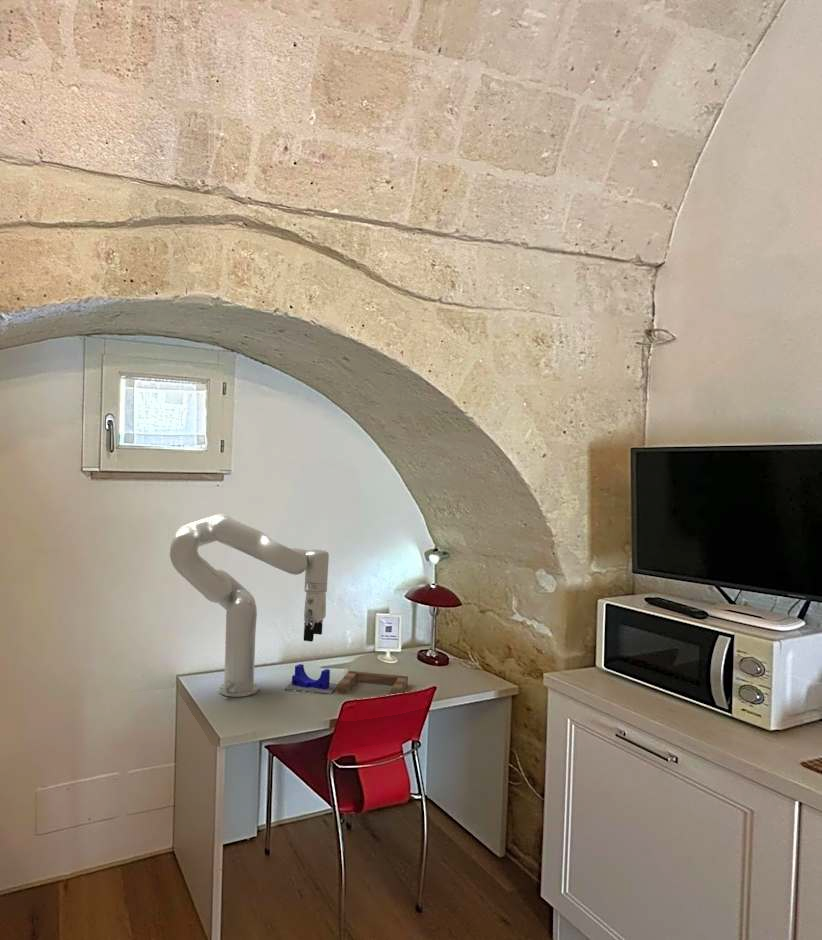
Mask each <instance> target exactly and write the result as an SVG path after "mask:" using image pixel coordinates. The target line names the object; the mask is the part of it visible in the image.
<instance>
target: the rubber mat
mask: <svg viewBox="0 0 822 940" xmlns="http://www.w3.org/2000/svg"><path fill="white" fill-rule="evenodd" d="M337 684H338V683H335V682H330V683H329V688H327V689H325V690H323V689H318V688H313V687H308V688H305V687H300V686H295V685H292V681H290V683H289V684H288V685H287V686H286V687H284V691H287V690H296V691H295V692H297V691H305V692H304V693H306V692H314V693H313V694H316V693H324V694H323V695H326V694H331V695H333V694H334V692H335V691H336V690H337V689H336V688H337ZM335 689H336V690H335ZM334 690H335V691H334Z"/></svg>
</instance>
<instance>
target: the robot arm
mask: <svg viewBox="0 0 822 940" xmlns="http://www.w3.org/2000/svg"><path fill="white" fill-rule="evenodd" d="M214 542H218V543H221V544H223V545H225V546H228V547H230V548H233V549H235V550H237V551H239V552H241V553H244V554H246V555H248V556H251V557H252V558H254V559H256V560H259V561H261V562H262V563H263V562H264V563H266V564H267V565H269V566H272V567H274V568H275V569H278V570H281V571H283V572H285V573H288V574H290V575H294V576H296V575H301V574H303V573H304V572H305V574H304V589H303V591H304V592H305V593H306V594H305V600H304V601H305V602H304V611H303V615H304V616H303V621H304V623H303V625H304V626H303V641H305V642H311V643H312V642H313V641H314V635H319V636H321V635H323V625H324V624H323V621H324V619H325V618H326V616H327V615H326V613H327V612H326V611H327V610H326V607H327V606H326V605H327V596H326V595H327V592H328V578H329V575H328V574H329V561H330V560H329V558H330V555H329V552H328V551H327V550H322V549H303V548H297V547H293V548H290V547H288V546H285V545H283V544H282V543H279V542H277V541H276V540H274V539H272V538H271V537H269V536H268V535H267V534H266V533H264V532H263V531H261V530H259V529H256V528H255V527H251V526H249V525H246V524H244V523H242V522H240V521H238V520H236V519H234V518H232V517H231V516H230V515H228V514H226V513H218V514H215V515H212V516H209V517H206V518H202V519H199V520H196V521H193V522H190V523H187V524H184V525H182V526H181V527H179V528H177V530H176V532H175V533H174V534H173V537H172V540H171V543H170V549H169V557H170V561H171V565H172V566H173V568H174V569H175V570H176V572H177V573H178V574H179V575H180V576H181V577H182V578H184V579H185V580H186V581H187V582H188V584H190V585H191V586H192V587H193V588H194V589H196V590H197V592H199V593H200V594H201V595H202V596H203V597H204V598H205V599H207V600H208V601H210V602H211V603H216V604H218V605H219V606H221V607H222V608H223V609H224V610H225V612H226V614H225V617H226V618H225V622H226V624H225V647H224V648H225V649H224V650H225V652H224V654H225V655H224V674H223V675H224V677H223V678H224V680H223V684H221V685H220V686H219V688H218V692H219V694H221V695H223V696H227V697H235V698H239V697H249V696H252V695H254V694H256V693H257V692H258V691H259V685H258V684H257V683H255V657H256V656H255V655H256V632H257V631H256V629H257V617H258V609H257V603H256V600H255V598H254V595H253V594H252V593H251V592H249V590H247V588H246V587H244V586H243V585H242V584H241V583H239V582H238V581H237V580H236V579H235V578H234V577H233V576H232V575H230V574H229V573H228V572H226V571H224V570H222V569H215V568H214V566H212V565H211V564H210V563H209V562H208V561H207V560H206V559H204V558H203V557H202V556H201V555H200V554H199V551H198V549H199V547H202V546H205V545H208V544H211V543H214Z"/></svg>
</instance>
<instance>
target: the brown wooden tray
mask: <svg viewBox="0 0 822 940" xmlns="http://www.w3.org/2000/svg"><path fill="white" fill-rule="evenodd" d="M354 683H362V684H363V683H364V684H375V685H383V686H385V685H386V686H392V687H391V689H390V691H389V692H390V693H389V694H397V693H402V692H403V693H404V692H405V690H406V689H407V687H408V683H409V677H408V675H395V674H387V673H376V672H366V671H355V670H348V672H347V673H346V674H345V675H344V677H343V678H341V680H340V681H338V683H336V684H337V689H336V693H340V694H339V695H347V694H348V692H349V691H350V690H351V689H352V688H353V686H354V685H355V684H354ZM349 689H350V690H349Z"/></svg>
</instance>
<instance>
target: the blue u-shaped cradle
mask: <svg viewBox="0 0 822 940" xmlns="http://www.w3.org/2000/svg"><path fill="white" fill-rule="evenodd" d="M330 678H331V669H330V668H329V669H328V668H325V669H323V670H321V673H320V677H319V678H318V679H312V678H310V677H309V675H308V674H307V673H306V671H305V665H304V664H301V663H299V664H297V665H295V666H294V675H292V676H291V682H292V685H295V686H300V687H305V688H308V687H313V688H318V689H323V690H325V689H327V688H329V683H331V682H330Z"/></svg>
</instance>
